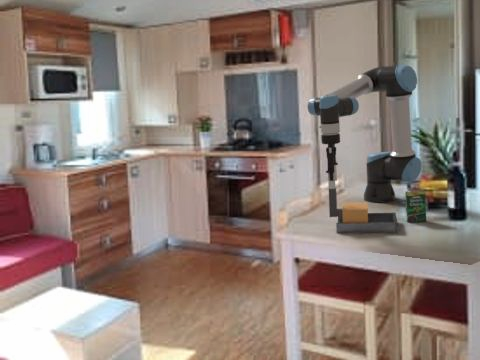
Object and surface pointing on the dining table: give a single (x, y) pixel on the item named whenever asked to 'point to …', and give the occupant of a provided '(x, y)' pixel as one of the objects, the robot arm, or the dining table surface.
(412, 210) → the coffee box
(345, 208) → the grey and orange block
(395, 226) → the bay
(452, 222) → the dining table surface
